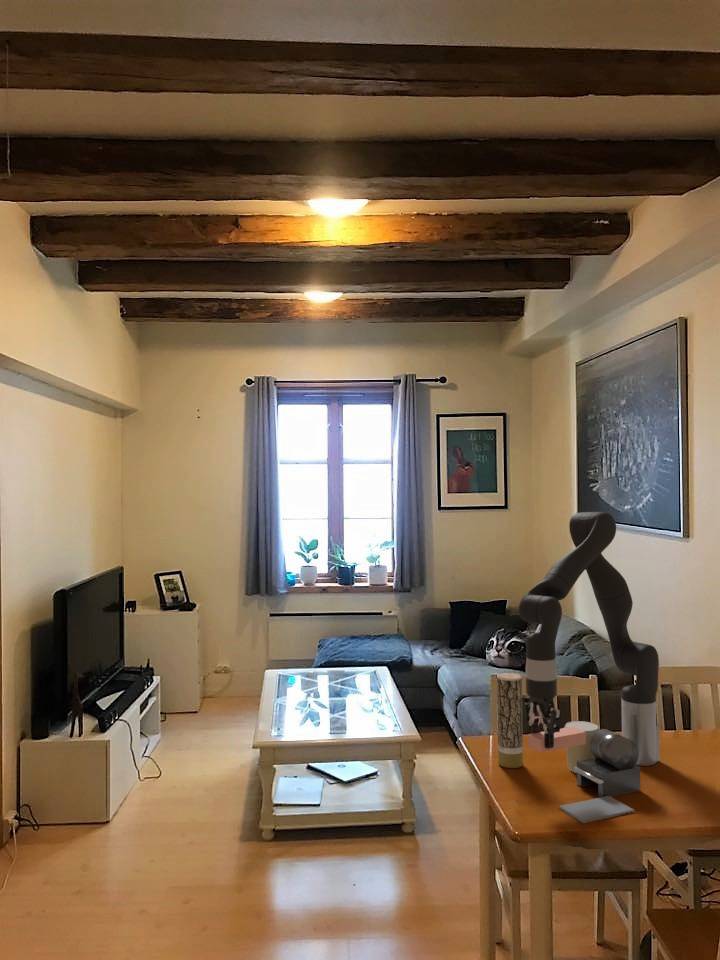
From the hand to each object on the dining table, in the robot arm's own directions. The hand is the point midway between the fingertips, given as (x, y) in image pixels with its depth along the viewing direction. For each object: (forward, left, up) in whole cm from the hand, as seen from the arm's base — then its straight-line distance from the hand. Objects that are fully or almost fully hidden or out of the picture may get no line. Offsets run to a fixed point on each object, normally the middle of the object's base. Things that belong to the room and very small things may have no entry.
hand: (542, 744), depth 193 cm
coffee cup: (-23, -14, -14) cm, 30 cm away
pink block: (-5, 0, -1) cm, 5 cm away
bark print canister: (-7, -25, -14) cm, 29 cm away
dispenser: (-21, -1, -14) cm, 25 cm away
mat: (-9, +9, -14) cm, 19 cm away
